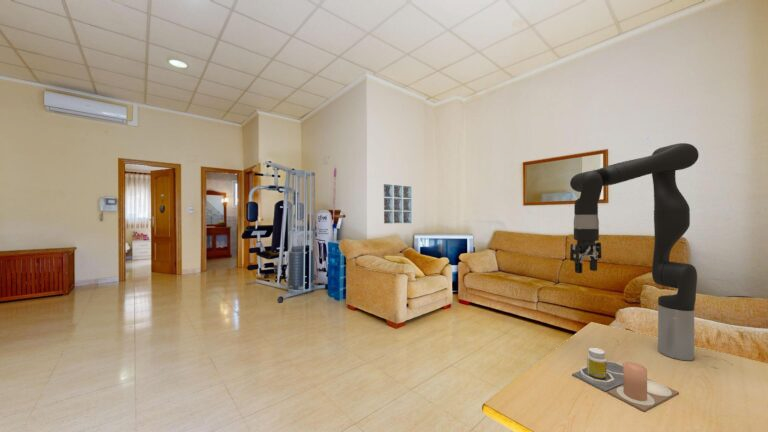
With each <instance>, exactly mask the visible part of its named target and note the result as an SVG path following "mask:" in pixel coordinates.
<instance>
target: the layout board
mask: <svg viewBox="0 0 768 432" xmlns="http://www.w3.org/2000/svg"><path fill="white" fill-rule="evenodd" d="M578 370H579V371H576V372H573V373H572V374H571V375H572V376H573V377H574V378H577V379H579V380H581V381H583V382H584V383H586V384H588V385H590V386H592V387H594V388H596V389H598V390H600V391H602V392H603V393H607V395H609V396H612V397H614V398H615V399H618V400H619V401H621V402H624V403H626V404H628V405H630V406H631V407H634V408H635V409H636V410H639V411H641V412H643V413H646V412H647V411H649V410H651V409H653V408H655V407H657V406H658V405H661V404H663V403H664V402H666V401H668V400H670V399H672V398H674V397H676V396H678V395H679V394H680V392H679V391H678V390H675V389H673V388H671V387H669V386H666V385H663V384H662V383H659V382H656V381H654V380H651V379H649V378H648V369H647V367H645V366H644V365H641V364H639V363H636V362H631V361H624V362H623V364H621V363H618V362H617V361H612V360H606V381H603V380H597V379H593V378H591V377H589V376H588V374H587V366H586V365H585V366H582V367H581V368H579V369H578ZM654 406H655V407H654Z"/></svg>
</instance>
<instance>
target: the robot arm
mask: <svg viewBox="0 0 768 432" xmlns="http://www.w3.org/2000/svg"><path fill="white" fill-rule="evenodd" d="M698 159H699V150H698V149H697V147H695V145H693V144H690V143H685V142H682V143H675V144H670V145H666V146H663V147H660V148H657V149H655V150H654V151H653V152H652V154H651V155H648V156H643V157H640V158H639V157H638V158H633V159H629V160H624V161H621V162H617V163H613V164H608V165H605V166H604V167H601V168H598V169H591V170H588V171H584V172H579V173H577V174H575V175H574V176H573V177H571V179H570V180H569V181H570V182H569V186H570V187H571V189H572V190H573V191H575V192H578V193H580V195H579V198H577V199H576V200H575V201H574V208H573V209H574V217H573V239H574V240H575V241H576V243H571V244H570V252H569V260H570V261H572V262H573V263H574V272H575V273H576V274H583V261H584V259H585V258H587V257H588V258H589V270H590V271H593V272H597V271H598V261H599V260H601V259H602V257H603V255H602V242H598V241H599V239H600V220H599V202H600V201H599V200H600V197H601V194H602V190H603V187H604V186H612V185H617V184H620V183H625V182H627V181H632V180H633V179H638V178H641V177H644V176H647V175H651V177H652V185H653V204H654V205H653V228H654V245H653V253H652V255H653V257H652V265H651V275H652V280H653V282H654V283H655V284H656V285H658V286H662V287H666V288H673V289H677V293H675V294H669V295H661V296H658V298H657V351H658V352H659V353H660V354H662V355H664V356H667V357H669V358H672V359H676V360H681V361H694V360H695V307H696V299H697V298H696V296H697V285H698V283H697V282H698V273H697V272H698V271H697V269H696V267H695V266H694V265H692V264H690V263H685V262H677V261H670V255H671V252H672V249H673V247H674V246H675V245H676V243H677V242H678V241H679V240H680V239H682V237H683V236H684V235H685V234H686V232H687V231H688V230H689V228H690V224H691V216H690V215H691V211H690V210H691V209H690V205H689V203H688V201H687V200H686V198H685V197H684V195H683V193H682V192H680V190H679V188H678V186H677V180H676V179H677V178H676V171H681V170H682V171H683V170H686V169H688V168H690V167H693V165H695V164H696V162H697V161H698ZM574 240H573V241H574Z"/></svg>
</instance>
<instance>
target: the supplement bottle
mask: <svg viewBox="0 0 768 432" xmlns="http://www.w3.org/2000/svg"><path fill="white" fill-rule="evenodd" d="M605 353H606V352H605V351H604V350H603V349H600V348H597V347H589V348H588V354H587V357H586V358H587V359H586V361H587V362H586V363H587V374H588V376H589V377H591V378H593V379H597V380H603V381H606V361H607V359H606V357H605V356H606V354H605Z"/></svg>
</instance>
